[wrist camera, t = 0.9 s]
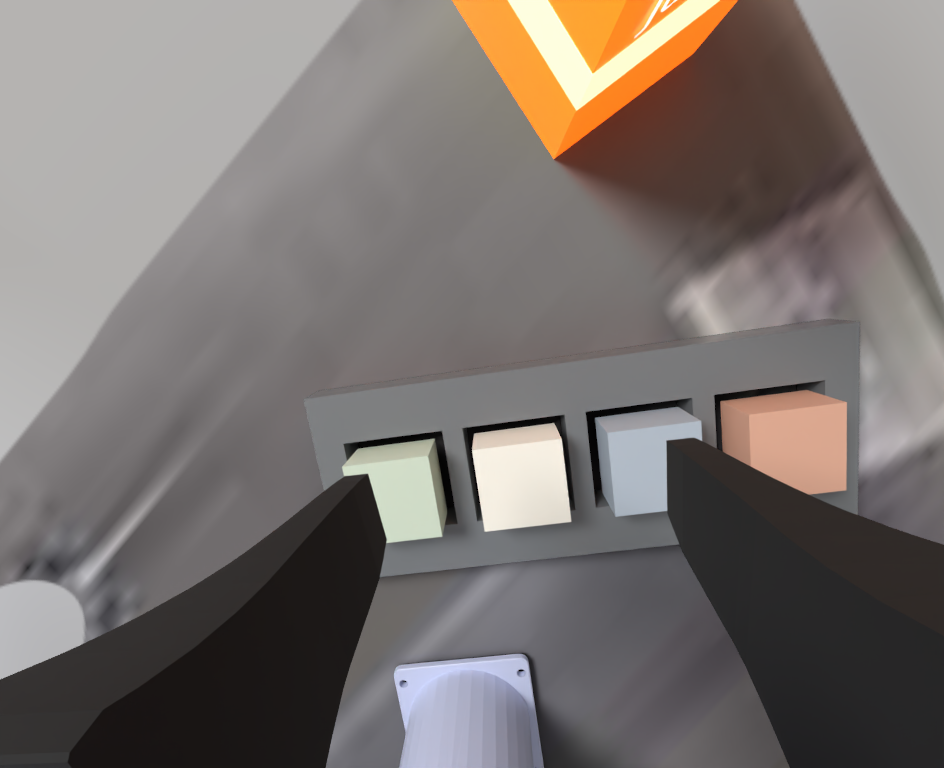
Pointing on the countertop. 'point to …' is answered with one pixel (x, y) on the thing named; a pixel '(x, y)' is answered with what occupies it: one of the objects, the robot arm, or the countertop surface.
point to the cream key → (521, 477)
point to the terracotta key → (790, 438)
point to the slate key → (639, 456)
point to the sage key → (404, 487)
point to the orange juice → (585, 54)
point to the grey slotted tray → (579, 428)
